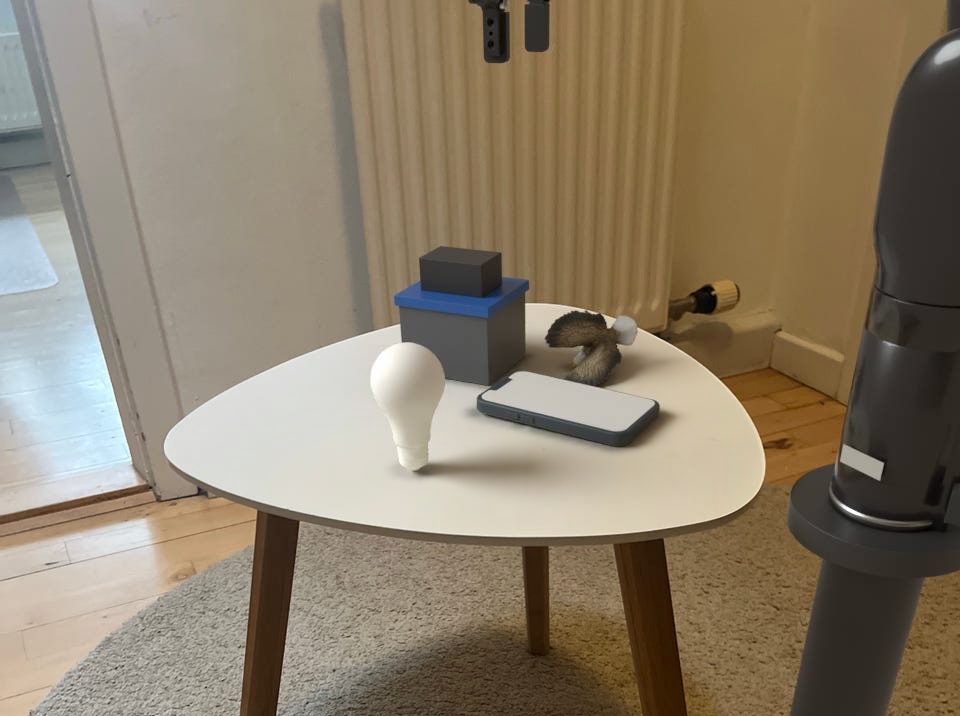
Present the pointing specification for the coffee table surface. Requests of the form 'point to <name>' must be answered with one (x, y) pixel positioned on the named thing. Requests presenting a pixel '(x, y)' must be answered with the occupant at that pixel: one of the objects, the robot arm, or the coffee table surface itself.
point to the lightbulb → (408, 397)
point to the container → (467, 329)
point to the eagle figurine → (591, 343)
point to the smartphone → (569, 407)
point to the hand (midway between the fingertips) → (517, 56)
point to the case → (461, 271)
